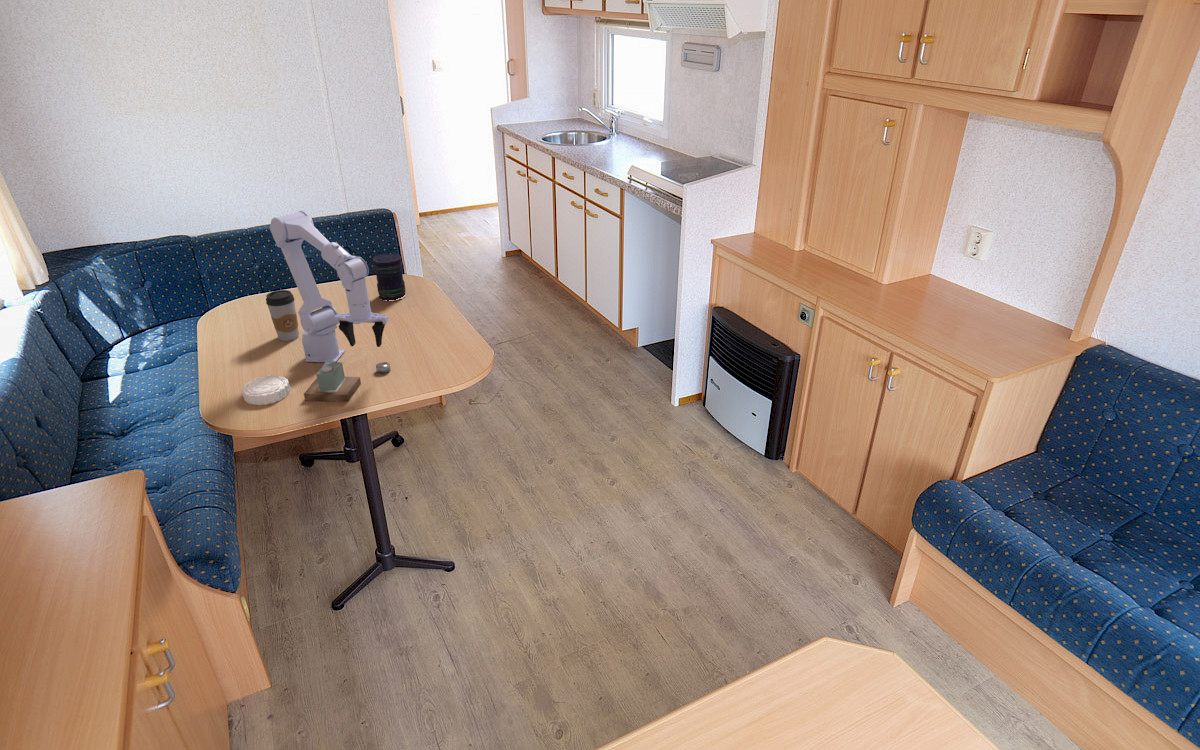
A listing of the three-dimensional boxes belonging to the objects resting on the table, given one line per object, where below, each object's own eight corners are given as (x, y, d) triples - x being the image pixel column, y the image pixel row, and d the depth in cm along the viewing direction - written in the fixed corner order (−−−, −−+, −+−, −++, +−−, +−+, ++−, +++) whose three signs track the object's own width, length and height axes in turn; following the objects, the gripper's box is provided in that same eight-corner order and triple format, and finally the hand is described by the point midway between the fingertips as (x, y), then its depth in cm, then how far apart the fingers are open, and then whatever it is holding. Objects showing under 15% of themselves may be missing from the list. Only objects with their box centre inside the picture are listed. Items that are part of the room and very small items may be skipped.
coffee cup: (280, 345, 218) (269, 301, 211) (271, 336, 224) (261, 293, 216) (306, 338, 223) (296, 295, 215) (297, 329, 228) (288, 287, 221)
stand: (305, 400, 188) (303, 392, 187) (319, 382, 197) (318, 375, 196) (348, 401, 188) (346, 393, 187) (361, 383, 197) (359, 376, 195)
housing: (329, 377, 195) (325, 359, 192) (345, 377, 195) (341, 359, 192) (319, 389, 189) (315, 371, 186) (335, 390, 188) (332, 371, 186)
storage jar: (399, 289, 260) (394, 251, 253) (411, 297, 253) (405, 258, 246) (374, 295, 255) (368, 257, 247) (385, 303, 248) (379, 264, 241)
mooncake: (271, 408, 185) (268, 397, 183) (234, 402, 188) (231, 391, 186) (300, 387, 195) (297, 376, 193) (264, 381, 198) (261, 370, 196)
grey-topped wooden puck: (374, 374, 202) (373, 368, 201) (379, 367, 205) (378, 362, 204) (388, 374, 202) (387, 368, 201) (392, 368, 205) (391, 362, 204)
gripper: (327, 306, 187) (336, 350, 194) (379, 307, 187) (386, 352, 194) (336, 296, 194) (345, 339, 200) (387, 297, 193) (394, 341, 200)
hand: (366, 345), depth 197 cm, fingers open, 7 cm apart
